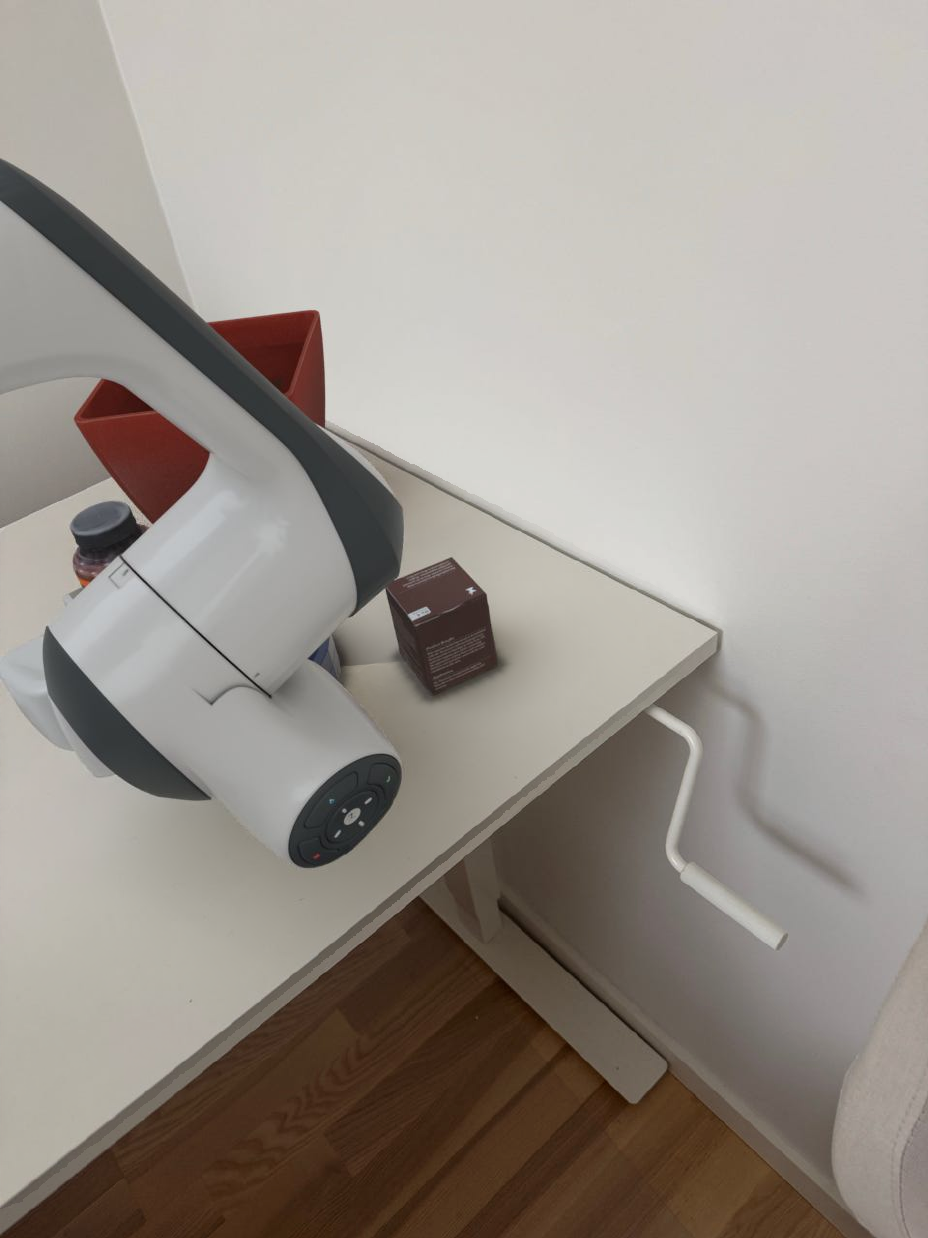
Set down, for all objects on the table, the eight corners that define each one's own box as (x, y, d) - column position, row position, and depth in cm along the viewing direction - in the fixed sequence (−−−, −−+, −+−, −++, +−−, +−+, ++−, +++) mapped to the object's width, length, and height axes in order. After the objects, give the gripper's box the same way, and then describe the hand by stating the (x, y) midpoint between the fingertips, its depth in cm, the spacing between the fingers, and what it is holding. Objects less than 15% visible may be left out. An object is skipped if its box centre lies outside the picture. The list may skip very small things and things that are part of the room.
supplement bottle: (174, 610, 73) (119, 481, 66) (216, 640, 69) (162, 507, 62) (104, 652, 70) (39, 522, 63) (143, 686, 66) (79, 552, 59)
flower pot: (334, 560, 89) (289, 394, 78) (138, 580, 91) (68, 421, 80) (356, 458, 104) (320, 306, 93) (187, 477, 106) (133, 331, 95)
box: (466, 627, 79) (453, 554, 74) (500, 667, 74) (489, 593, 70) (399, 655, 77) (381, 583, 72) (429, 698, 72) (413, 624, 68)
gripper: (344, 546, 59) (242, 474, 68) (24, 717, 51) (-43, 608, 60) (365, 624, 63) (266, 546, 72) (71, 795, 55) (2, 682, 64)
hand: (124, 575), depth 66 cm, fingers closed on supplement bottle, 6 cm apart
